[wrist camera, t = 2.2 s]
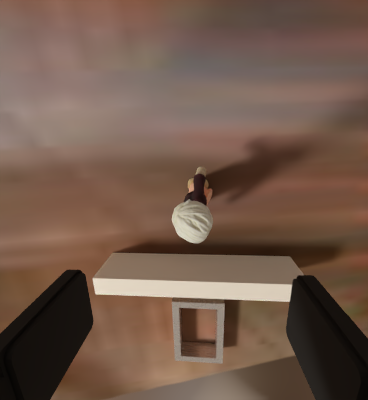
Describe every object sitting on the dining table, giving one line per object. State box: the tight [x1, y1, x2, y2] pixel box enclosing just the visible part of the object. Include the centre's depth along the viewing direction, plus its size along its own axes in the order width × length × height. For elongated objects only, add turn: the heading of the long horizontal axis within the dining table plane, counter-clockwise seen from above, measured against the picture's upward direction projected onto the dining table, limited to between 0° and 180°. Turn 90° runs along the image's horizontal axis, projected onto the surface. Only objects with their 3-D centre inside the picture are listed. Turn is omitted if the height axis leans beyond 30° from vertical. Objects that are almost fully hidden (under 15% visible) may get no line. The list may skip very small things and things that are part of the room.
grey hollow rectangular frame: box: [172, 297, 225, 363], centre depth 33 cm, size 8×12×2 cm, turn 2°
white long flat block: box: [93, 253, 304, 302], centre depth 28 cm, size 26×2×6 cm, turn 92°
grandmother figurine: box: [172, 166, 213, 243], centre depth 21 cm, size 8×4×13 cm, turn 179°
